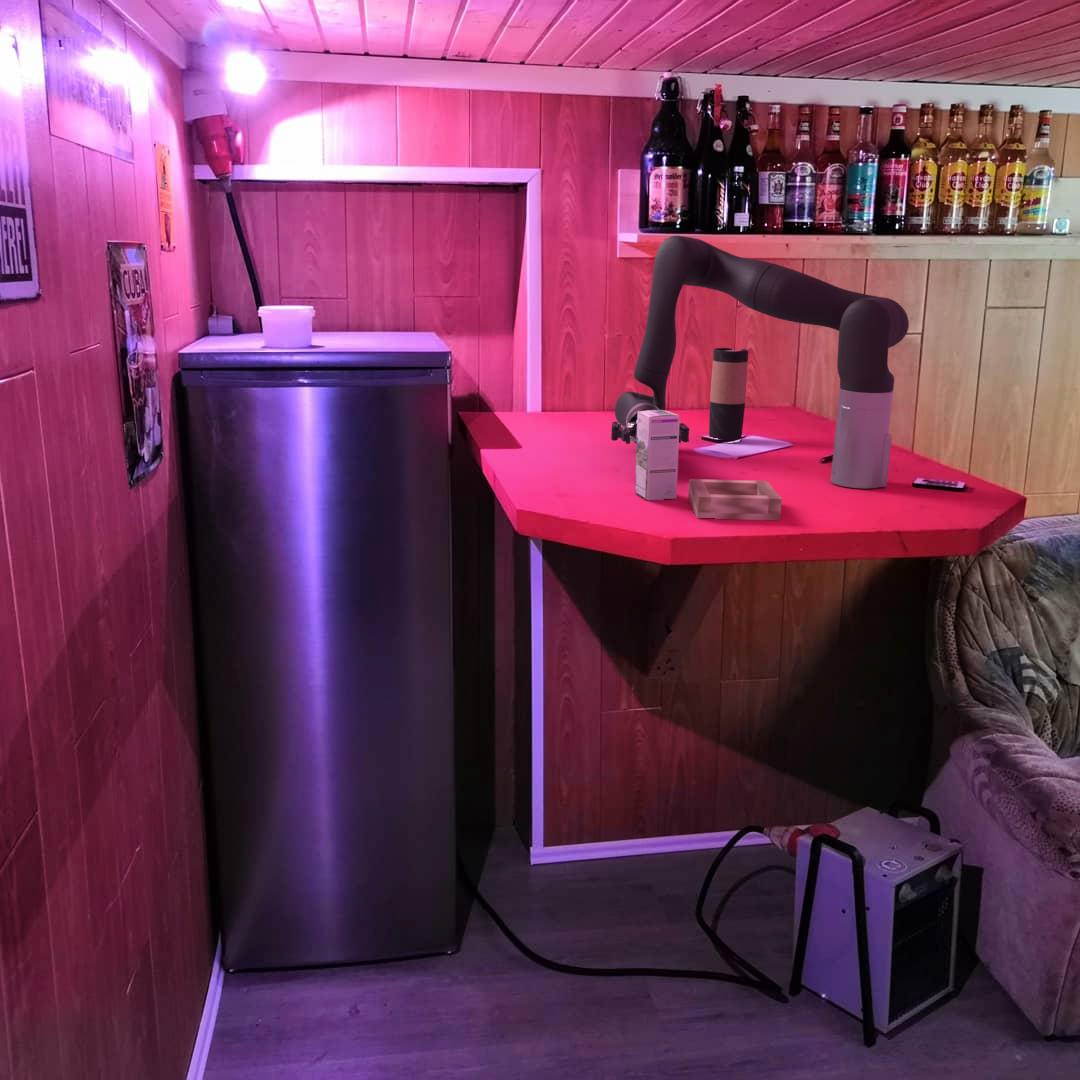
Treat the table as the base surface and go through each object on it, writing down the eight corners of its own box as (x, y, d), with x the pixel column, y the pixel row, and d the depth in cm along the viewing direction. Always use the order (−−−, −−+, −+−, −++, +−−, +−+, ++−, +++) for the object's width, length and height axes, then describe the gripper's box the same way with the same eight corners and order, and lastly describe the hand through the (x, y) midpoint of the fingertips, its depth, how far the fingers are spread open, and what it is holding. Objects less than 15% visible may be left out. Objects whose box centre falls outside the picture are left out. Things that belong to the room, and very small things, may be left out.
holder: (765, 501, 178) (766, 480, 177) (780, 520, 166) (781, 498, 165) (688, 499, 178) (689, 479, 177) (697, 518, 166) (698, 496, 165)
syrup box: (677, 499, 178) (682, 414, 174) (645, 501, 177) (649, 415, 173) (664, 492, 183) (668, 409, 180) (632, 493, 182) (636, 410, 178)
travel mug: (716, 444, 229) (722, 351, 224) (702, 438, 236) (707, 347, 231) (748, 443, 231) (755, 351, 226) (733, 437, 238) (739, 347, 233)
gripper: (609, 403, 203) (613, 417, 187) (683, 405, 203) (693, 419, 187) (608, 442, 205) (611, 458, 189) (681, 444, 205) (691, 460, 189)
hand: (652, 438), depth 188 cm, fingers open, 8 cm apart
